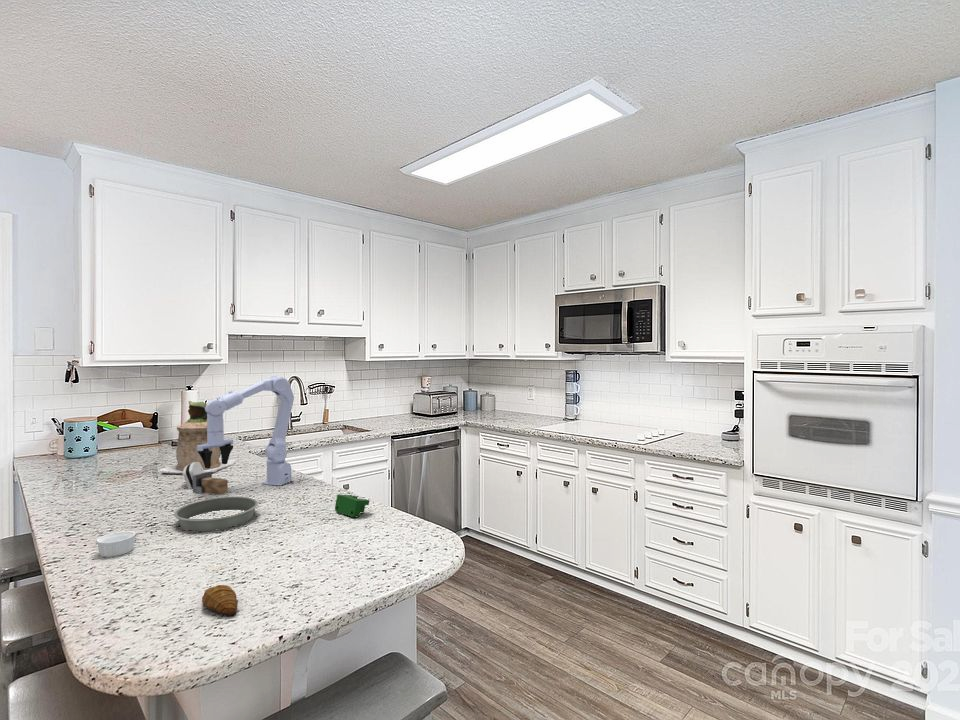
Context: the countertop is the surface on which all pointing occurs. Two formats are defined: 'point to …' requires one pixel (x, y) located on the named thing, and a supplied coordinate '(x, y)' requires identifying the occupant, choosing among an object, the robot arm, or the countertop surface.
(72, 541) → the countertop surface
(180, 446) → the cookie jar
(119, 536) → the ramekin
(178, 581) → the countertop surface
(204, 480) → the block
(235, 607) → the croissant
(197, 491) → the grey metal bench
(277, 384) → the robot arm
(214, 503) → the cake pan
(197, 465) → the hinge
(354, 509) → the green wheelie bin
